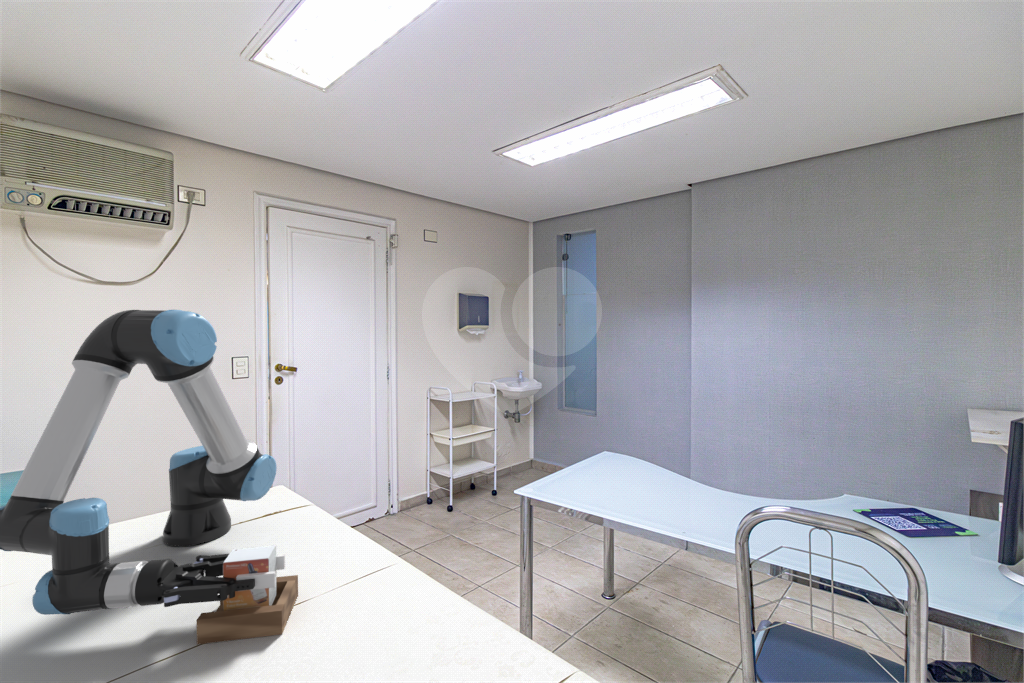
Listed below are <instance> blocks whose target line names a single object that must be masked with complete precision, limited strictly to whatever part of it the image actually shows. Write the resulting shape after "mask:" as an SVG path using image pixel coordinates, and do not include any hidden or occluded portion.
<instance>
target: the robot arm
mask: <svg viewBox="0 0 1024 683" xmlns="http://www.w3.org/2000/svg"><path fill="white" fill-rule="evenodd" d="M217 341H218V336H217V333H216V330H215V328H214V327H213V325H212V324H211V322H210V321H209V320H208V319H206V318H205V317H204V316H203V315H201V314H199V313H197V312H194V311H189V310H187V311H186V310H181V309H166V310H163V309H161V310H159V309H158V310H157V309H156V310H152V309H151V310H149V309H148V310H145V309H142V310H141V309H127V310H122V311H119V312H116V313H114V314H111V315H110V316H108V317H106V318H105V319H104V320H103V321H102V322H100V323H99V324H98V325H97V326H96V327H95V328H94V329H92V330H91V332H90V333H89V335H87V337H85V339H84V340H83V343H81V345H80V347H79V348H78V351H77V352H76V354H75V356H74V357H73V359H72V362H71V365H72V366H73V368H74V372H73V373H72V374H71V378H70V379H69V381H68V383H67V385H66V386H65V389H64V391H63V393H62V395H61V397H60V398H59V400H58V402H57V405H56V406H55V408H54V410H53V412H52V414H51V417H50V418H49V420H48V422H47V424H46V426H45V428H44V430H43V432H42V434H41V436H40V438H39V440H38V442H37V444H36V445H35V448H34V449H33V452H32V454H31V455H30V458H29V459H28V461H27V463H26V465H25V467H24V469H23V471H22V473H21V475H20V477H19V479H18V481H17V483H16V485H15V486H14V488H13V491H12V492H11V494H10V497H9V499H8V501H7V502H6V504H5V505H2V506H0V550H1V551H4V552H22V553H30V554H39V555H45V556H51V566H52V569H50V570H48V571H47V572H46V573H44V574H43V575H42V576H41V577H40V579H39V580H38V582H37V583H36V585H35V588H34V590H35V592H34V594H33V595H32V598H31V599H32V606H33V608H34V610H35V612H37V613H38V614H40V615H45V616H47V615H48V616H49V615H71V614H75V613H83V612H91V611H101V610H102V611H103V610H111V609H122V608H123V609H128V608H130V607H131V608H133V607H137V606H141V607H145V606H153V605H154V606H155V605H161V604H163V607H164V608H169V607H172V606H177V605H182V604H195V603H199V604H200V603H209V602H210V603H211V602H220V601H223V600H226V599H227V595H229V598H233V597H235V591H244V590H254V589H264V588H274V587H275V586H276V577H277V571H279V570H280V571H281V570H285V569H286V554H276V571H273V572H262V573H252V574H241V575H237V577H236V580H235V578H225V577H223V562H224V561H225V559H226V558H227V557H228V555H229V554H230V553H223V554H222V553H221V554H212V555H209V554H208V555H205V554H200V555H197V556H196V557H195V561H194V562H193V563H192V562H190V563H186V564H182V565H178V564H177V563H176V562H175V561H174V559H172V558H165V559H164V558H163V559H153V560H149V561H148V560H137V561H129V562H128V561H126V562H118V563H115V562H113V563H110V543H109V542H110V541H109V539H110V532H109V531H110V529H109V525H110V517H109V515H108V507H107V506H108V505H107V502H106V500H104V499H103V498H99V497H88V498H87V497H86V498H85V497H83V498H77V499H73V500H70V501H66V502H65V500H66V497H67V496H68V493H69V492H70V488H71V486H72V485H73V483H74V480H75V478H76V476H77V474H78V472H79V470H80V468H81V466H82V463H83V462H84V459H85V456H86V454H87V453H88V451H89V448H90V446H91V444H92V443H93V440H94V438H95V435H96V433H97V431H98V429H99V428H100V425H101V423H102V420H104V416H105V414H106V412H107V410H108V408H109V405H110V403H111V401H112V399H113V398H114V395H115V393H116V390H117V389H118V387H119V384H120V382H121V381H123V380H125V379H127V378H129V376H130V374H131V372H132V371H133V368H134V367H135V366H136V365H137V364H138V365H140V364H141V365H146V366H147V368H148V369H149V370H150V373H151V374H152V376H153V378H154V380H156V381H157V382H160V383H165V384H167V385H168V387H169V388H170V390H171V391H172V394H173V395H174V397H175V399H176V401H177V402H178V404H179V406H180V408H181V409H182V411H183V413H184V415H185V417H186V419H187V420H188V422H189V424H190V426H191V427H192V429H193V431H194V433H195V434H196V436H197V438H198V440H199V441H200V443H201V445H199V446H195V447H190V448H186V449H182V450H180V451H177V452H175V453H173V454H172V455H171V457H170V459H169V469H168V475H169V477H168V478H169V497H170V498H169V499H170V500H169V501H170V511H169V513H168V516H167V519H166V522H165V525H164V529H163V532H162V541H163V543H164V544H165V545H167V546H169V547H188V546H189V545H190V546H195V544H196V545H199V544H200V543H201V544H203V543H204V542H205V543H208V542H211V541H213V540H215V539H218V538H221V537H222V536H224V535H226V534H227V533H228V532H230V530H231V528H232V518H231V515H230V513H229V511H228V508H227V507H226V504H225V501H224V500H233V501H241V502H249V501H251V502H253V501H254V502H255V501H258V500H260V499H262V498H264V497H265V496H266V495H267V493H268V492H269V491H270V489H271V488H272V486H273V484H274V482H275V478H276V475H277V467H278V466H277V462H276V459H275V457H273V456H272V455H269V454H262V453H261V451H260V450H259V448H258V446H257V444H256V442H254V440H251V439H247V438H246V436H245V435H244V433H243V430H242V428H241V427H240V425H239V423H238V421H237V419H236V416H235V414H234V412H233V410H232V409H231V407H230V405H229V402H228V401H227V399H226V397H225V394H224V392H223V391H222V388H221V386H220V385H219V383H218V380H217V378H216V376H215V375H214V373H213V370H212V368H211V366H212V364H213V362H214V360H215V357H214V355H215V353H216V351H217V345H216V343H217ZM205 543H204V544H205Z"/></svg>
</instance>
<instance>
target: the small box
mask: <svg viewBox="0 0 1024 683" xmlns="http://www.w3.org/2000/svg"><path fill="white" fill-rule="evenodd" d="M228 554H229V555H228V557H227V558H226V559H225V561H224V562H223V576H222V577H225V578H235V580H236V577H237V575H241V574H252V573H262V572H273V571H276V572H277V570H276V555H277V545H276V544H270V545H267V546H264V545H263V546H256V547H245V548H243V547H242V548H232V550H231V551H230V552H229V553H228ZM275 597H276V586H275V587H274V588H264V589H254V590H244V591H235V597H233V598H229V595H227V599H226V600H223V611H225V610H234V609H243V608H252V607H261V606H271V605H272V604H273V601H274V599H275Z"/></svg>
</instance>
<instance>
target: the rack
mask: <svg viewBox="0 0 1024 683" xmlns="http://www.w3.org/2000/svg"><path fill="white" fill-rule="evenodd" d="M297 597H299V575H298V574H293V575H286V576H284V575H283V576H276V597H275V599H274V601H273V604H272V605H271V606H261V607H252V608H243V609H234V610H225V611H223V601H219V606H218V607H217V609H216V610H215V611H208V612H201V613H200V615H199V616H198V617H197V619H196V645H205V644H213V643H214V644H215V643H219V642H221V643H222V642H228V641H238V640H246V639H252V638H253V639H254V638H263V637H271V636H278V635H283V633H284V630H285V629H286V626H287V624H288V622H287V621H289V619H290V617H291V614H292V612H293V610H294V607H295V605H294V604H296V602H297V600H298V598H297ZM296 599H297V600H296ZM295 601H296V602H295ZM293 606H294V607H293ZM292 609H293V610H292ZM291 611H292V612H291ZM289 616H290V617H289Z"/></svg>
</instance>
